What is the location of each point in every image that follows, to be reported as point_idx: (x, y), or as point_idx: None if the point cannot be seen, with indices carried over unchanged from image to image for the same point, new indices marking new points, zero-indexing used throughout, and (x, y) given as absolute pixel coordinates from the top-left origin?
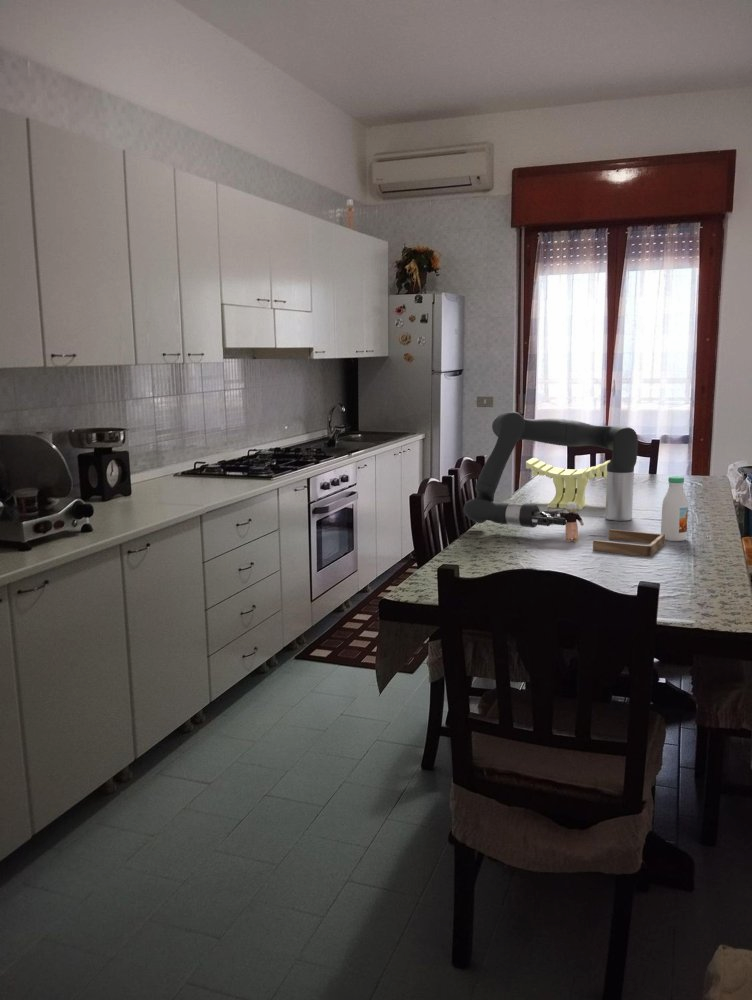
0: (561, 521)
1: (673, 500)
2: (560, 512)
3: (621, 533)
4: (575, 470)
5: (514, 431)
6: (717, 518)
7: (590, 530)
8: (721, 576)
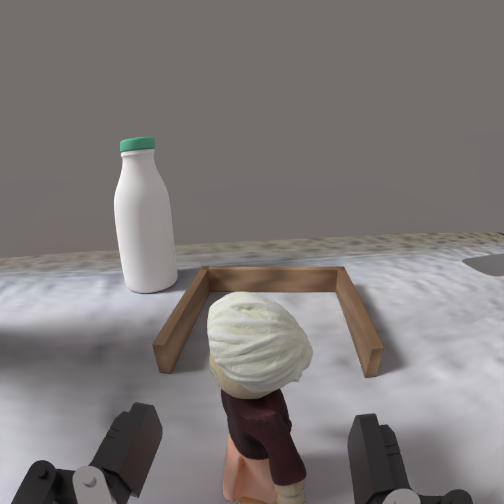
0: (391, 438)
1: (164, 188)
2: (110, 493)
3: (179, 327)
4: None
5: None
6: (16, 261)
7: (31, 419)
8: (381, 241)
